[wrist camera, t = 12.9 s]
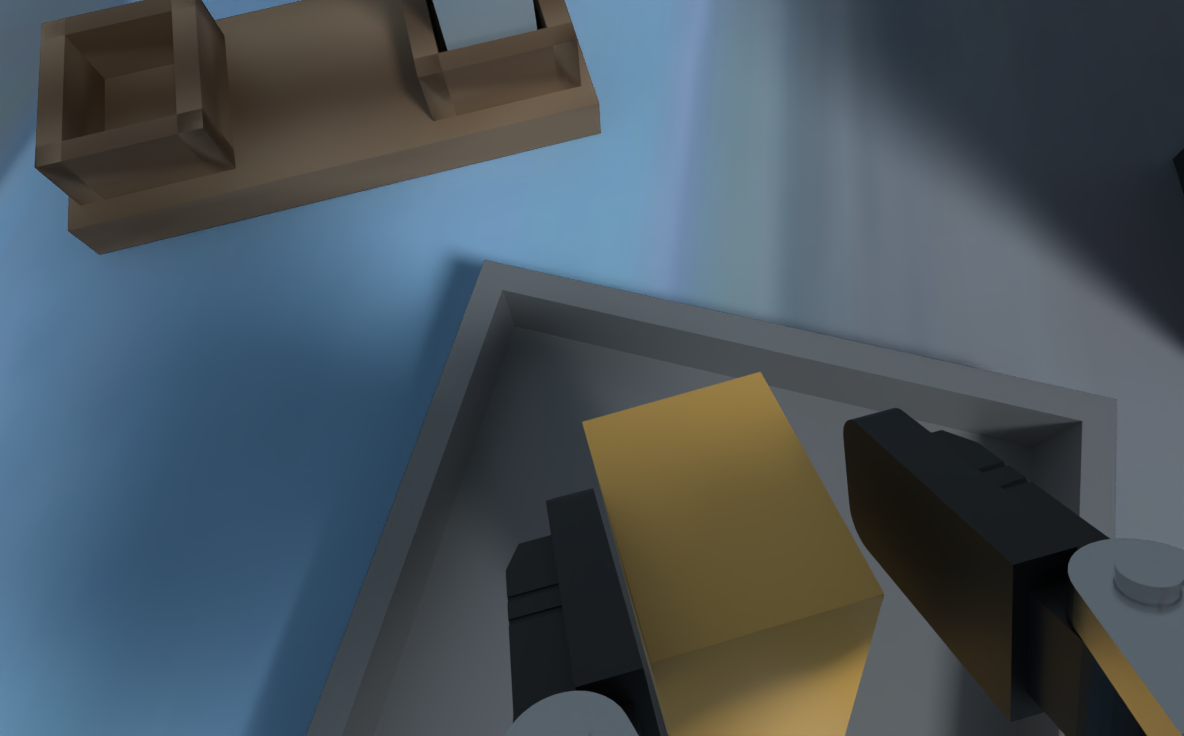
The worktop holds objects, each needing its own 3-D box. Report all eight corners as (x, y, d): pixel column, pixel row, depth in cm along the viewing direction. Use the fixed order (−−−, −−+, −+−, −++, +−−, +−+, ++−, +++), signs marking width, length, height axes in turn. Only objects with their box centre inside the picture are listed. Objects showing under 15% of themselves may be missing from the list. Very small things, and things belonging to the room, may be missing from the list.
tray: (501, 307, 24) (484, 259, 21) (1052, 433, 21) (1116, 399, 18) (284, 915, 18) (220, 962, 15) (1018, 1190, 15) (1105, 1308, 12)
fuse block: (100, 82, 28) (30, 7, 25) (549, -21, 29) (539, -107, 26) (98, 254, 25) (20, 194, 22) (600, 133, 26) (596, 57, 23)
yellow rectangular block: (647, 664, 19) (582, 421, 12) (758, 632, 19) (760, 371, 12) (697, 840, 16) (650, 663, 9) (826, 800, 16) (884, 593, 9)
